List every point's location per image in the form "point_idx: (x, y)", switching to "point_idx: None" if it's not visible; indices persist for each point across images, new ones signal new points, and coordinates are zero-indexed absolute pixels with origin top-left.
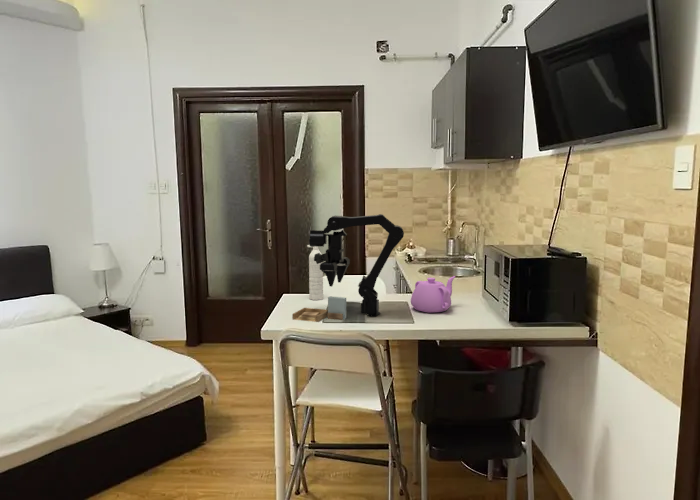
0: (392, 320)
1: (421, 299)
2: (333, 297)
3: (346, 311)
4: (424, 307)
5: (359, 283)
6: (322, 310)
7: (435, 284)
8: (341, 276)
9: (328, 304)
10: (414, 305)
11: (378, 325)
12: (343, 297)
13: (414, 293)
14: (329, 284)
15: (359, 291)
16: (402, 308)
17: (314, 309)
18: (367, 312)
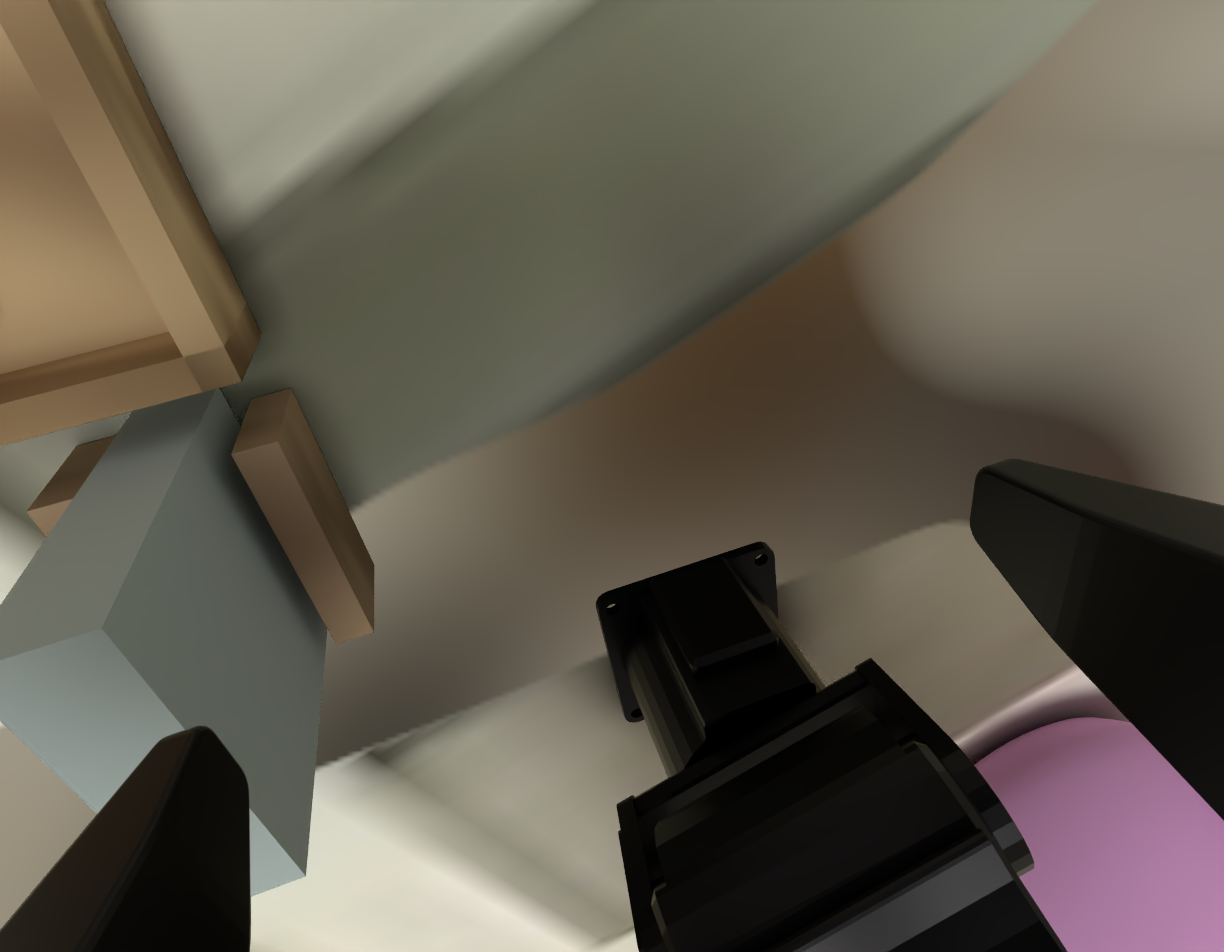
0: (600, 840)
1: None
2: (83, 753)
3: (370, 632)
4: None
5: (881, 929)
6: (139, 266)
7: None
8: (1149, 710)
9: (41, 563)
10: None
11: (379, 879)
12: (273, 847)
13: (1071, 899)
14: (111, 817)
15: (655, 908)
16: (1005, 670)
17: (21, 54)
18: (629, 677)
